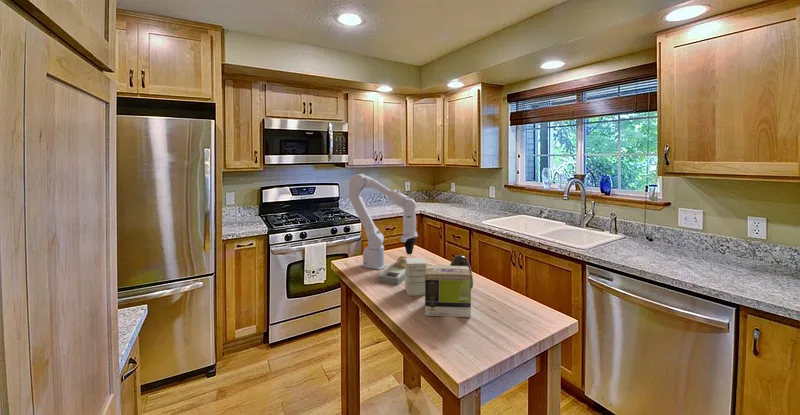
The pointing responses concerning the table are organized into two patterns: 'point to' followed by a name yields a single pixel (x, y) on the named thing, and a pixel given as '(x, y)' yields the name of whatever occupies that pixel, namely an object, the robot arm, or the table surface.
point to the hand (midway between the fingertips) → (409, 253)
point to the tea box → (447, 291)
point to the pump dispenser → (462, 264)
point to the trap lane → (392, 274)
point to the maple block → (401, 262)
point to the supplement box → (415, 276)
